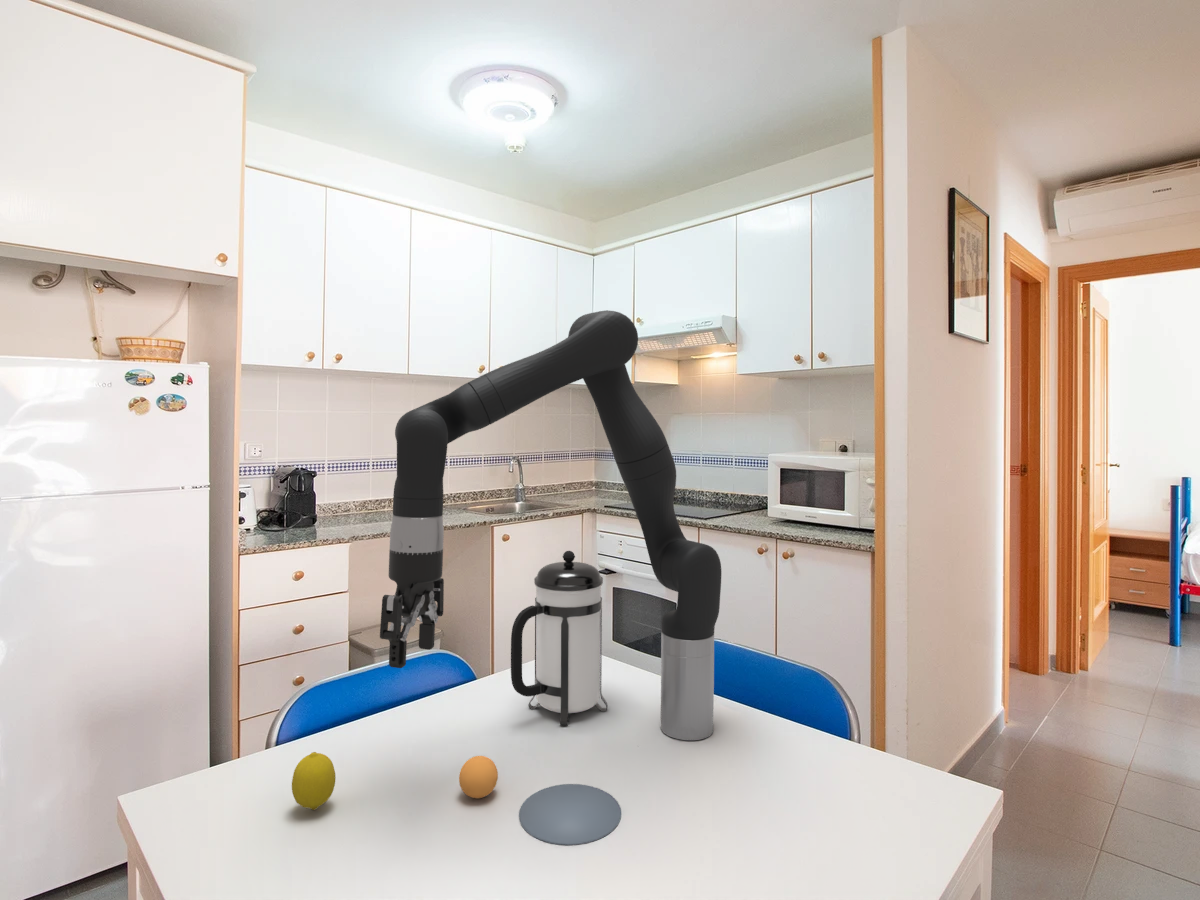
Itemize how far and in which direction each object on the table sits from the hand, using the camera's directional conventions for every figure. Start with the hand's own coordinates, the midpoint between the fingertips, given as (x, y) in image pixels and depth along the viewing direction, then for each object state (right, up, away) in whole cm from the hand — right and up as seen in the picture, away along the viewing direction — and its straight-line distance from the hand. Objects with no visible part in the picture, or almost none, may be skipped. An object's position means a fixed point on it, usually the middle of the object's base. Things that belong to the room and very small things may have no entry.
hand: (412, 657), depth 96 cm
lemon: (-12, -20, -5) cm, 24 cm away
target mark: (+23, -20, -5) cm, 31 cm away
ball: (+10, -17, -1) cm, 20 cm away
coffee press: (+21, -19, +27) cm, 39 cm away
